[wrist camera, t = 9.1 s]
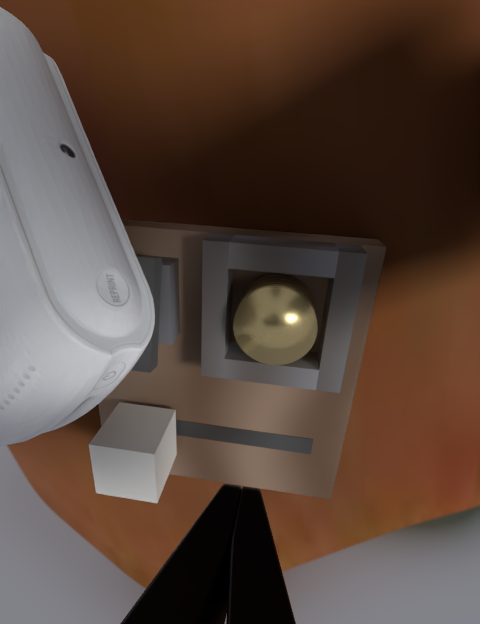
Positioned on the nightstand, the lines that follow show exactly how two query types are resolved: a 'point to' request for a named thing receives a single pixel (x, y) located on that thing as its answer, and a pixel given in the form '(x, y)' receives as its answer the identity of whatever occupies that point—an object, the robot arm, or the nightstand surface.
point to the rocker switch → (153, 277)
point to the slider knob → (134, 452)
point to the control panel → (245, 370)
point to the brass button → (276, 319)
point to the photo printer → (58, 255)
